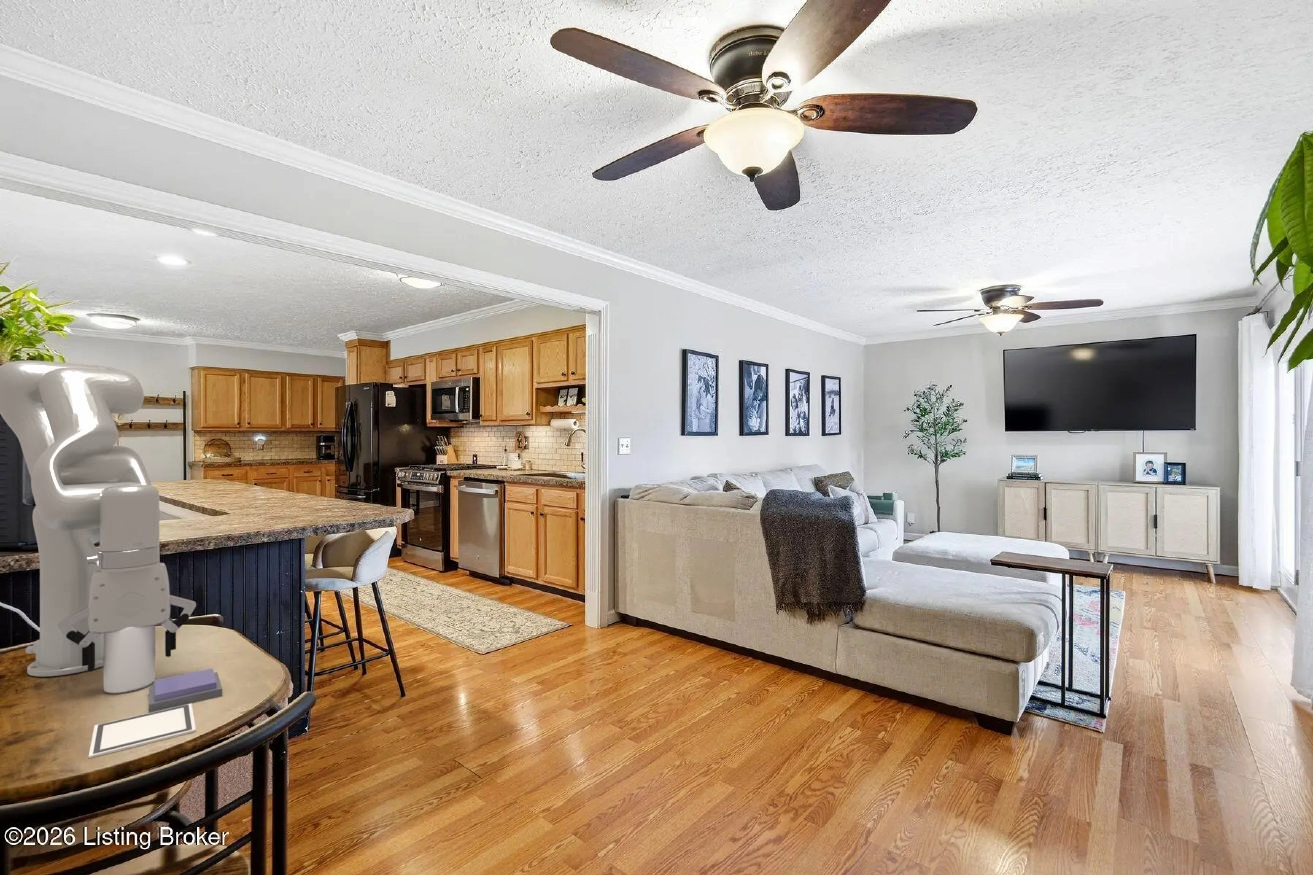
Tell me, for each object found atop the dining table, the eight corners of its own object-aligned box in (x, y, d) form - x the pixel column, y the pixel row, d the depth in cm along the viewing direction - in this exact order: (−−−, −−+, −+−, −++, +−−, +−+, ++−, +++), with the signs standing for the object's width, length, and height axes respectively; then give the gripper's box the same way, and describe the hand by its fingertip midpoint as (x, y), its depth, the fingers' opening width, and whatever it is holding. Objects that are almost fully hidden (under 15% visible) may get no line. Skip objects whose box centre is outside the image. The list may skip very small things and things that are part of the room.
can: (95, 697, 96) (96, 622, 96) (113, 682, 102) (113, 611, 102) (146, 690, 98) (146, 617, 98) (160, 676, 104) (161, 607, 104)
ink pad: (148, 712, 90) (148, 697, 90) (148, 693, 97) (148, 679, 97) (222, 695, 96) (222, 682, 96) (217, 678, 103) (217, 666, 103)
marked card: (88, 758, 77) (88, 755, 77) (94, 727, 86) (94, 724, 86) (195, 731, 85) (195, 728, 85) (191, 705, 93) (191, 702, 93)
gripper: (54, 570, 92) (55, 682, 91) (196, 555, 103) (197, 655, 103) (60, 563, 97) (60, 668, 97) (194, 549, 108) (195, 644, 108)
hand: (130, 661), depth 100 cm, fingers open, 9 cm apart
